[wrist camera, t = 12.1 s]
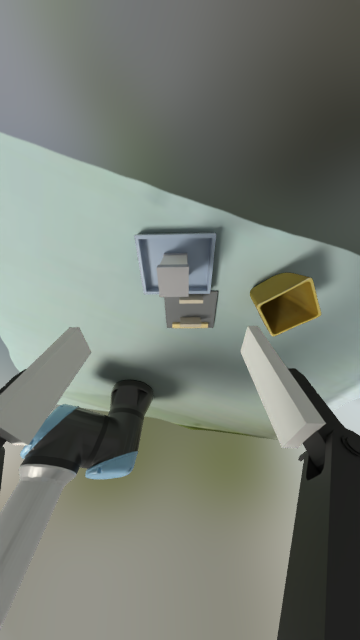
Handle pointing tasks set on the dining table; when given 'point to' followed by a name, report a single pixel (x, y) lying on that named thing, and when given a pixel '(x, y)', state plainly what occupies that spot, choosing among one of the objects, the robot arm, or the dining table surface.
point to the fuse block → (191, 311)
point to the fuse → (173, 275)
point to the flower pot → (286, 301)
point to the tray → (191, 243)
